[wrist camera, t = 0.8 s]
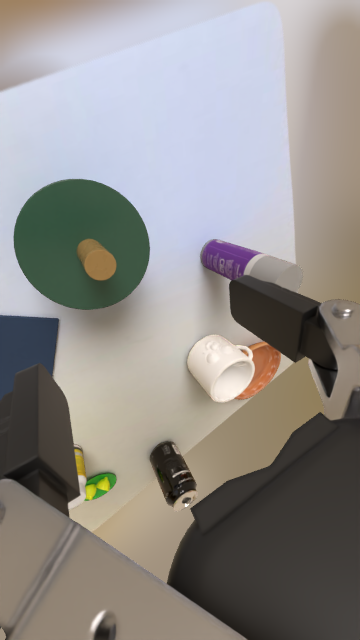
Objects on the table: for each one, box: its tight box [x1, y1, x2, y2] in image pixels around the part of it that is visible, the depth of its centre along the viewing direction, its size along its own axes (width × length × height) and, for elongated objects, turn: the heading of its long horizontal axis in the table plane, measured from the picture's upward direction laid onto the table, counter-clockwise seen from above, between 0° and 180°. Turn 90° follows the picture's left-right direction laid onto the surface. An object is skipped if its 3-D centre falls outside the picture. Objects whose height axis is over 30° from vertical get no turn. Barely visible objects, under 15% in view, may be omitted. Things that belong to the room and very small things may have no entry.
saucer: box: [234, 342, 281, 400], centre depth 56 cm, size 16×16×3 cm
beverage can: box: [150, 442, 198, 511], centre depth 51 cm, size 7×7×12 cm
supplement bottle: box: [68, 445, 87, 510], centre depth 39 cm, size 5×5×8 cm
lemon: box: [84, 473, 116, 501], centre depth 49 cm, size 8×8×3 cm
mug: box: [187, 335, 255, 403], centre depth 44 cm, size 12×10×9 cm
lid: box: [14, 179, 150, 310], centre depth 20 cm, size 11×11×6 cm
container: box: [201, 239, 303, 292], centre depth 32 cm, size 5×5×15 cm
